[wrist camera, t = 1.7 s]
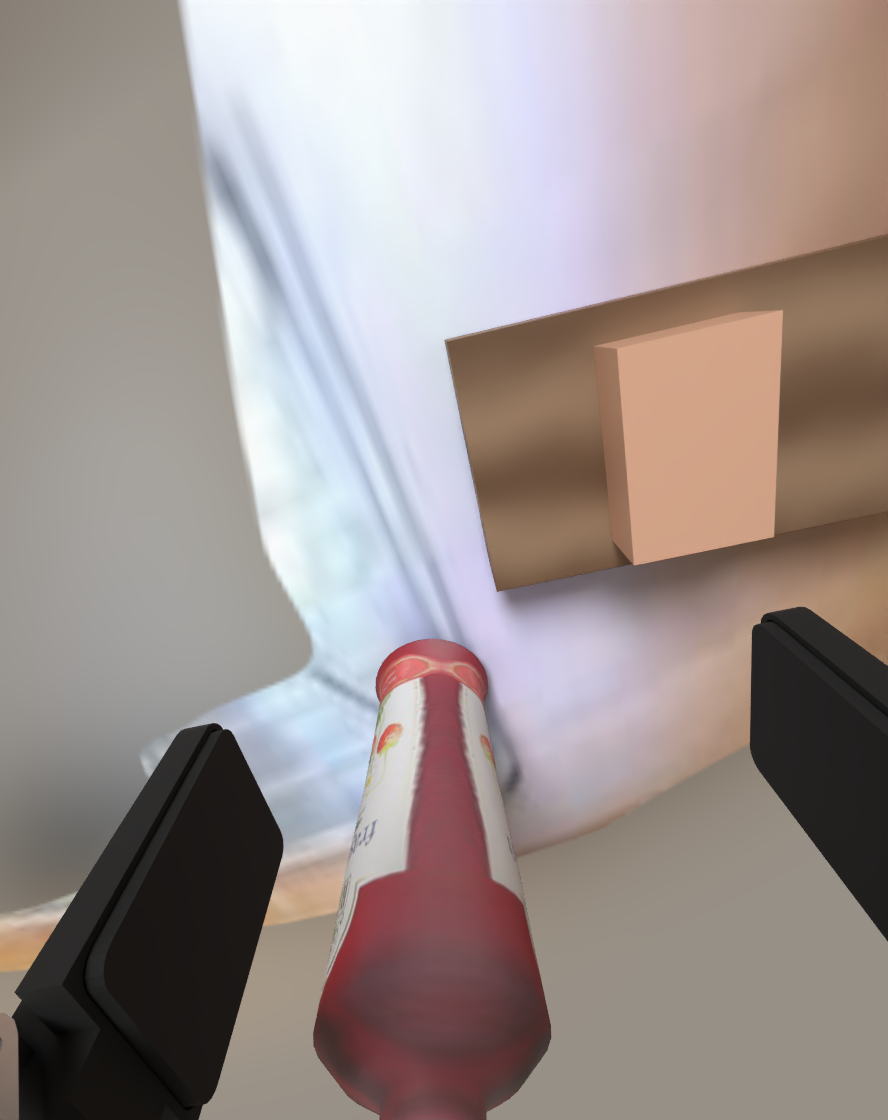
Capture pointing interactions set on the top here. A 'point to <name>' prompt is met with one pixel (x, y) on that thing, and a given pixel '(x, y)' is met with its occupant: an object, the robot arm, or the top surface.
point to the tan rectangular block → (691, 434)
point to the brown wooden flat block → (575, 424)
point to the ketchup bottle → (432, 911)
